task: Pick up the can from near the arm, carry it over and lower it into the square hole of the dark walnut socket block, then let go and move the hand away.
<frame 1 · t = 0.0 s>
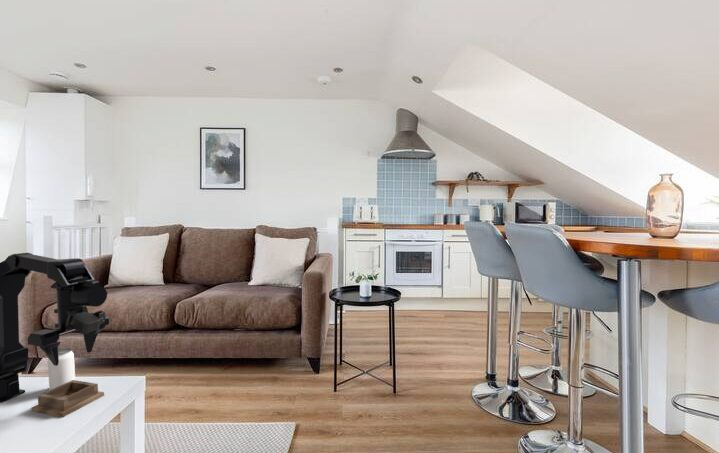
hand: (73, 358, 105), 15 cm above the table, tool pointing down, fingers open, 9 cm apart
socket: (69, 402, 109), on the table
can: (62, 389, 118), on the table
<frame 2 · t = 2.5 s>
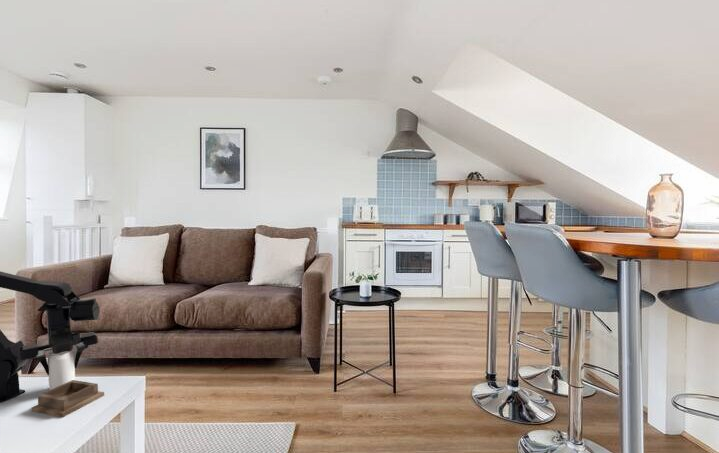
hand: (62, 371, 117), 6 cm above the table, tool pointing down, fingers open, 6 cm apart
can: (62, 389, 118), on the table, touching gripper
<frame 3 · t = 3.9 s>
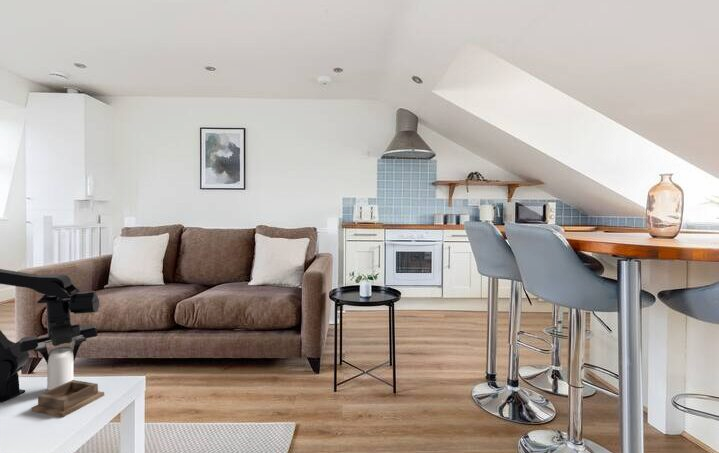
hand: (61, 363, 117), 8 cm above the table, tool pointing down, fingers closed on can, 5 cm apart
can: (60, 387, 117), on the table, touching gripper
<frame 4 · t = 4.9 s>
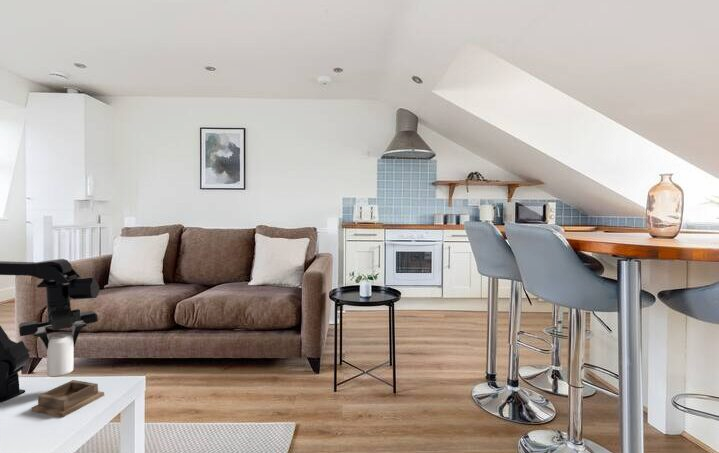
hand: (61, 349, 116), 13 cm above the table, tool pointing down, fingers closed on can, 5 cm apart
can: (60, 373, 116), point 5 cm above the table, touching gripper
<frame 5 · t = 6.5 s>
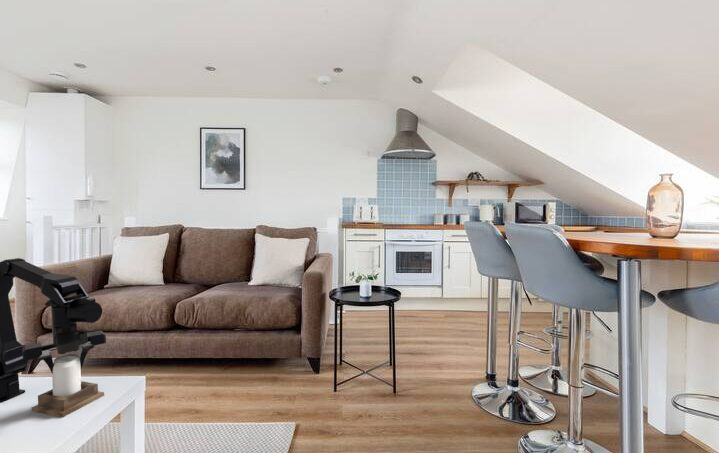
hand: (67, 373, 108), 9 cm above the table, tool pointing down, fingers closed on can, 5 cm apart
can: (67, 398, 109), point 1 cm above the table, touching gripper
when the fingers open (7 cm above the table, at t = 7.9 s): can stays where it is, resting on socket.
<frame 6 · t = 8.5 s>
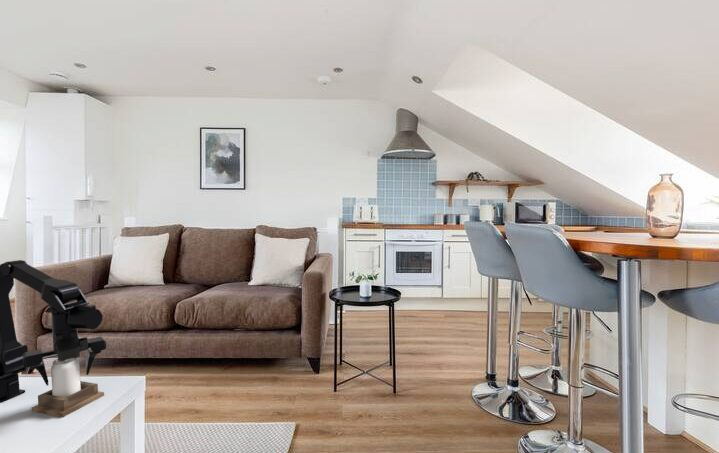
hand: (67, 379, 108), 7 cm above the table, tool pointing down, fingers open, 9 cm apart
can: (67, 400, 109), point 1 cm above the table, touching socket
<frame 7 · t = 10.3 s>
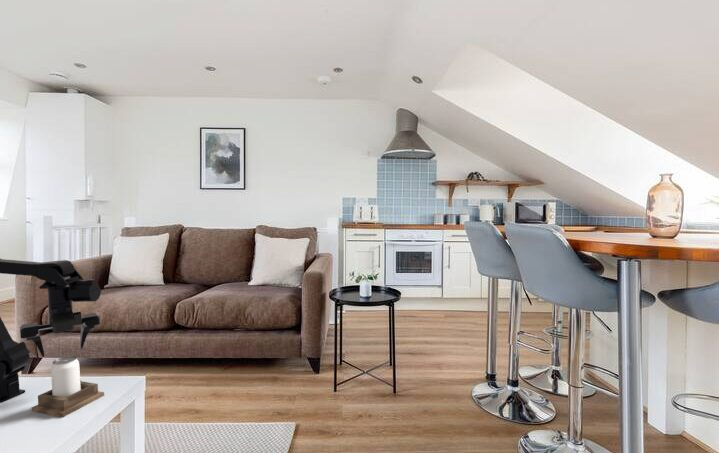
hand: (62, 352, 114), 13 cm above the table, tool pointing down, fingers open, 9 cm apart
nothing on the table moved.
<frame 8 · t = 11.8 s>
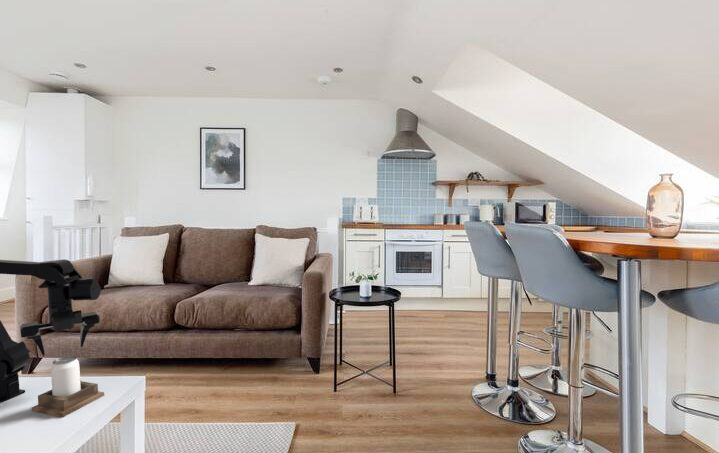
hand: (63, 350, 115), 13 cm above the table, tool pointing down, fingers open, 9 cm apart
nothing on the table moved.
at the end: can 0.4 cm off-centre on the socket, point 0.8 cm above the socket's base; can tilted 0°; the gripper is holding nothing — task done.
